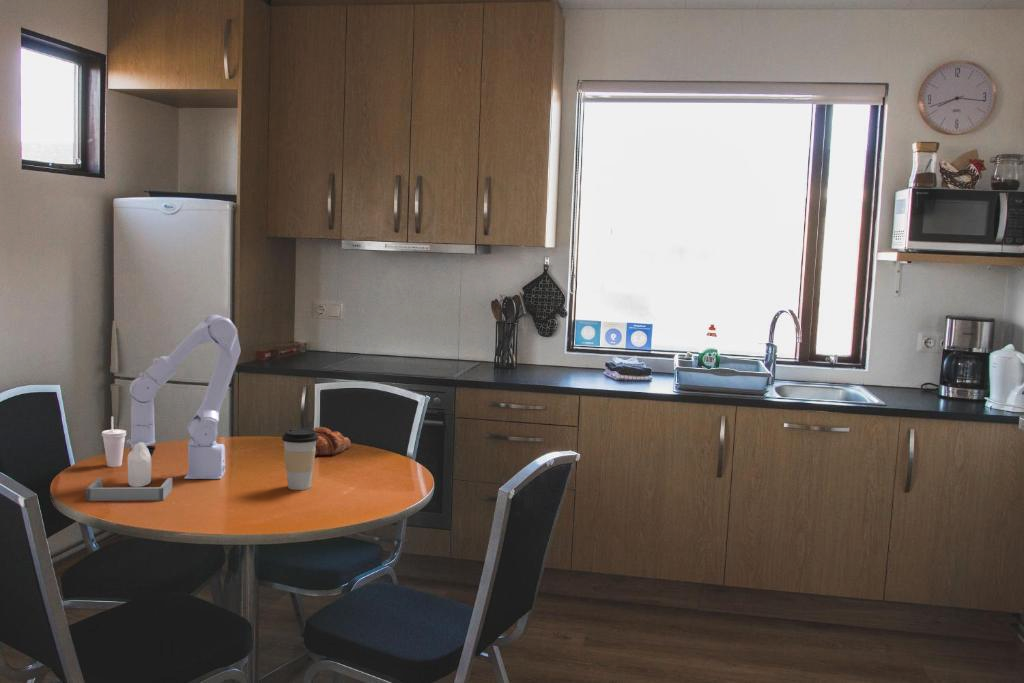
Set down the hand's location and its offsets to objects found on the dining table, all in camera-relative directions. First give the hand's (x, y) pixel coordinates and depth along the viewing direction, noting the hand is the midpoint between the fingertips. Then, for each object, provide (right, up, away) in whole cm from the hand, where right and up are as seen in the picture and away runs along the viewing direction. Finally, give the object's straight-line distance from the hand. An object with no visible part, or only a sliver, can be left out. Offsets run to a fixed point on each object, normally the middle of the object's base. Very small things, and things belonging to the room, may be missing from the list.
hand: (143, 474), depth 240 cm
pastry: (+39, +1, +41) cm, 57 cm away
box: (+2, -3, -12) cm, 13 cm away
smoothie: (-14, 0, +16) cm, 21 cm away
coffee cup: (+41, -4, 0) cm, 42 cm away
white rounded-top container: (0, -2, -3) cm, 3 cm away
